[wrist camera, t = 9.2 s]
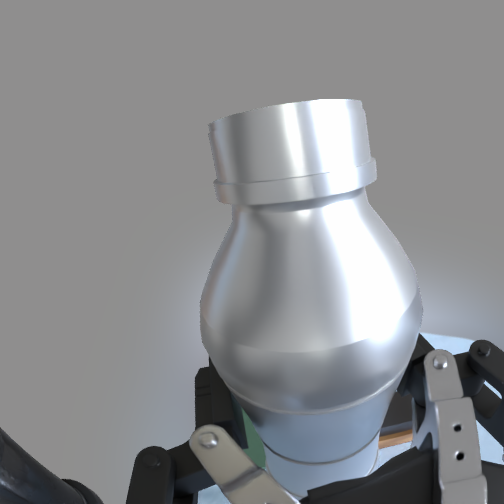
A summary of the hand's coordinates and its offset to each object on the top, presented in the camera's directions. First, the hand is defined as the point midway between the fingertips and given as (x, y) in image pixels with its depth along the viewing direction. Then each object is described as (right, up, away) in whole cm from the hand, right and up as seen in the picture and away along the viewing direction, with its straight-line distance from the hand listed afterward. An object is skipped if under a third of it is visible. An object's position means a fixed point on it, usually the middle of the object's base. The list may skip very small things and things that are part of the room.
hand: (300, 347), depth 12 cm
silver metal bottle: (+3, -11, +2) cm, 11 cm away
